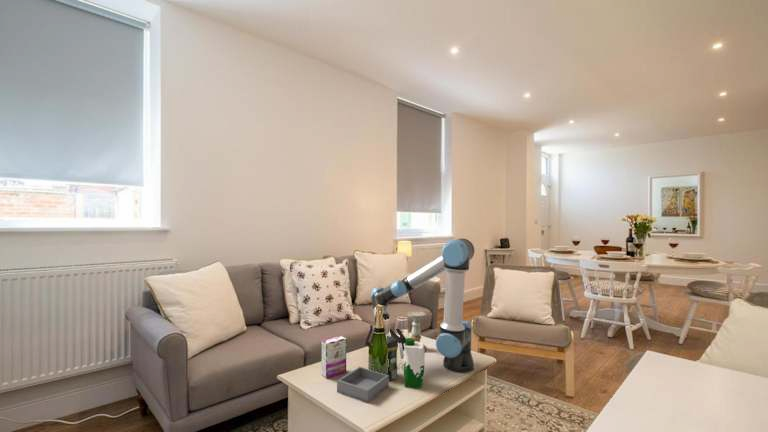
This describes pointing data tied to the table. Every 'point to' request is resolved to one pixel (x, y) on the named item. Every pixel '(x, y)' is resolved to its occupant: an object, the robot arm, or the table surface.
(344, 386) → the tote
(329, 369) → the candy bar box
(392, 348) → the coffee jar
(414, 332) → the candle holder
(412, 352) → the milk carton
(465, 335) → the robot arm
